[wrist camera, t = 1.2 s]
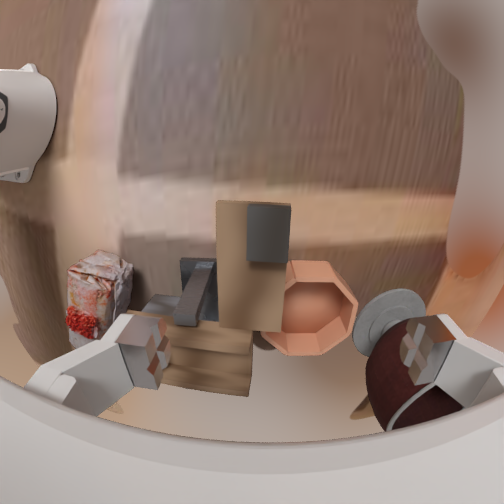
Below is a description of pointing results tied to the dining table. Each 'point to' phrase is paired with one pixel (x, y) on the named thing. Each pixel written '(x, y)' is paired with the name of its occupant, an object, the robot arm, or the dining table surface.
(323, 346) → the octagonal bowl
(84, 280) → the food item
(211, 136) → the dining table surface
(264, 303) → the tipping chute
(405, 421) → the mate gourd
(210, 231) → the dining table surface
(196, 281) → the chute stand
